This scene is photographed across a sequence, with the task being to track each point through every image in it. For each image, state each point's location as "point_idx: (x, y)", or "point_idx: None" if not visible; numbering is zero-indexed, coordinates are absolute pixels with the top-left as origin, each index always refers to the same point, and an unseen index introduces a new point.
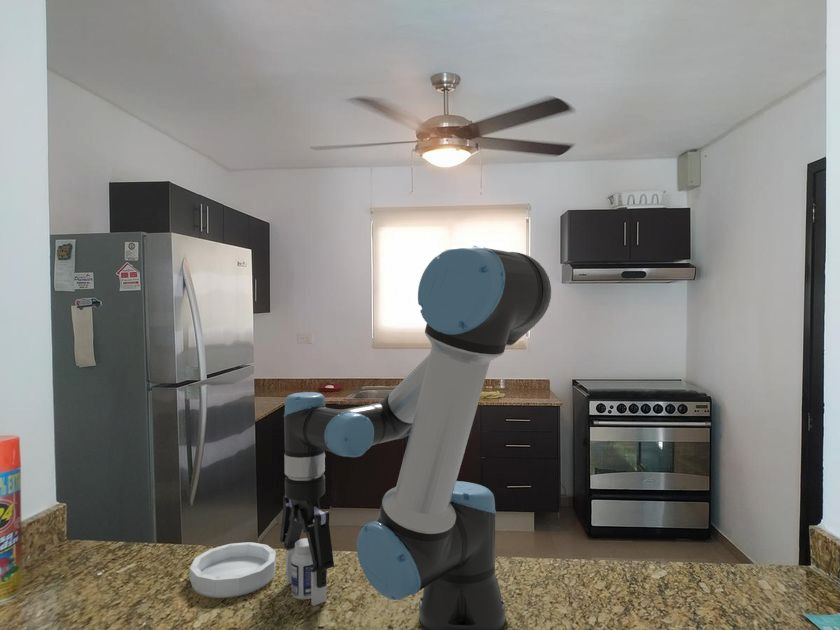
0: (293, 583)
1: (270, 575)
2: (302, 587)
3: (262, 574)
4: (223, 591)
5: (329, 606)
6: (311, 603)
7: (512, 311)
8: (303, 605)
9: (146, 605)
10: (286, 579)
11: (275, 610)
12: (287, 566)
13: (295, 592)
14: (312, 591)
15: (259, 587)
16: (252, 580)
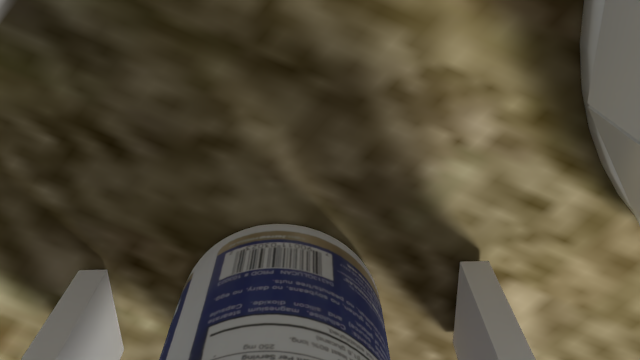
0: (258, 279)
1: (635, 212)
2: (187, 306)
3: (628, 147)
4: None
5: None
6: (105, 273)
7: None
8: (140, 228)
9: None
10: (489, 277)
11: (188, 49)
12: (504, 353)
13: (242, 248)
14: (49, 332)
15: (584, 83)
16: (629, 36)
